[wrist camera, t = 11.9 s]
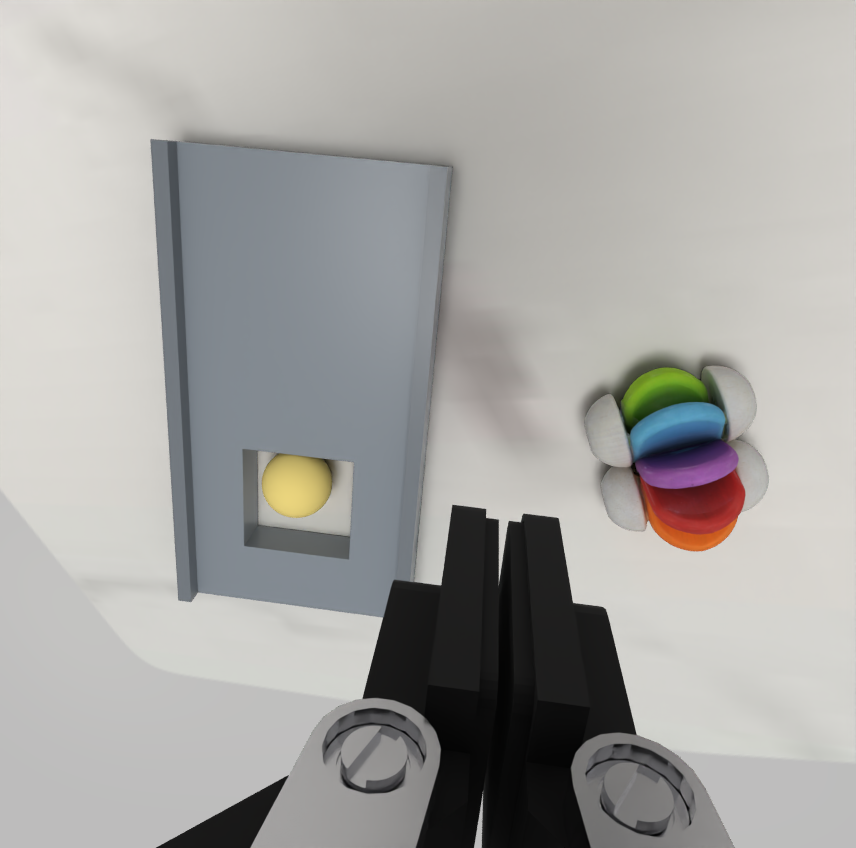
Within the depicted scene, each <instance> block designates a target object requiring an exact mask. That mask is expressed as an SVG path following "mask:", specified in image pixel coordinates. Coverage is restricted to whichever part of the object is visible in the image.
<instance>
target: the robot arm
mask: <svg viewBox="0 0 856 848" xmlns="http://www.w3.org/2000/svg"><path fill="white" fill-rule="evenodd" d="M482 794H483V821H482V823H483V824H482V848H735V847H734V845H733V843H732V841H731V839H730V837H729V835H728V833H727V831H726V829H725V827H724V825H723V823H722V821H721V819H720V817H719V815H718V813H717V811H716V809H715V807H714V805H713V803H712V801H711V799H710V797H709V795H708V793H707V791H706V789H705V787H704V785H703V784H702V783H701V781H700V779H699V778H698V777H697V775H696V774H695V772H694V770H693V769H692V768H690V767H689V766H688V765H687V764H686V763H685V762H684V761H683V760H682V759H681V758H680V757H679V756H678V755H676V754H675V753H673V752H672V751H670V750H669V749H667V748H665V747H664V746H662V745H661V744H659V743H657V742H654V741H651V740H649V739H646V738H644V737H641V736H638V735H636V730H635V726H634V722H633V718H632V714H631V710H630V706H629V701H628V697H627V693H626V689H625V685H624V681H623V676H622V672H621V668H620V664H619V660H618V656H617V651H616V647H615V643H614V639H613V635H612V631H611V626H610V622H609V618H608V615H607V612H606V609H605V608H603V607H599V606H592V605H584V604H576V603H573V601H572V595H571V589H570V583H569V577H568V571H567V565H566V559H565V553H564V547H563V541H562V535H561V529H560V523H559V519H558V518H554V517H546V516H538V515H530V514H523V516H522V520H521V522H513V521H509V523H508V528H507V534H506V541H505V548H504V555H503V561H502V568H501V575H500V581H499V520H497V519H489V518H486V509H482V508H474V507H465V506H457V505H452V512H451V519H450V527H449V534H448V541H447V548H446V556H445V563H444V570H443V577H442V585H441V586H440V585H432V584H425V583H417V582H409V581H402V580H393V582H392V586H391V589H390V593H389V597H388V601H387V605H386V609H385V613H384V617H383V621H382V624H381V628H380V632H379V636H378V640H377V644H376V648H375V652H374V656H373V660H372V663H371V667H370V671H369V675H368V679H367V683H366V687H365V691H364V695H363V699H359V700H354V701H352V702H349V703H346V704H343V705H340V706H338V707H337V708H335V709H334V710H332V711H331V712H329V713H328V714H327V715H325V716H324V717H323V718H322V720H321V721H320V722H319V723H318V725H317V726H316V727H315V728H314V730H313V731H312V733H311V735H310V737H309V739H308V741H307V743H306V744H305V746H304V748H303V750H302V752H301V754H300V756H299V757H298V759H297V761H296V763H295V765H294V767H293V769H292V771H291V772H290V774H289V775H288V776H286V777H284V778H283V779H281V780H279V781H277V782H275V783H273V784H272V785H270V786H268V787H266V788H264V789H262V790H261V791H259V792H257V793H255V794H253V795H251V796H250V797H248V798H246V799H244V800H242V801H240V802H239V803H237V804H235V805H233V806H231V807H229V808H228V809H226V810H224V811H222V812H221V813H219V814H217V815H215V816H213V817H211V818H209V819H208V820H206V821H204V822H202V823H200V824H199V825H197V826H195V827H193V828H191V829H189V830H188V831H186V832H184V833H182V834H180V835H178V836H177V837H175V838H173V839H171V840H169V841H168V842H166V843H164V844H162V845H160V846H158V847H156V848H474V844H475V837H476V831H477V825H478V819H479V813H480V807H481V800H482Z"/></svg>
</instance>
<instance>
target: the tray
mask: <svg viewBox="0 0 856 848" xmlns="http://www.w3.org/2000/svg"><path fill="white" fill-rule="evenodd" d="M151 155H152V172H153V188H154V205H155V221H156V238H157V254H158V271H159V288H160V304H161V321H162V337H163V354H164V370H165V387H166V403H167V420H168V436H169V453H170V470H171V486H172V503H173V519H174V536H175V552H176V569H177V585H178V600H180V601H187V602H192V600H193V599H194V597H195V596H196V594H197V593H198V592H199V593H206V594H214V595H221V596H229V597H236V598H243V599H251V600H258V601H265V602H273V603H280V604H288V605H295V606H302V607H310V608H317V609H325V610H332V611H339V612H347V613H354V614H362V615H369V616H376V617H384V613H385V609H386V605H387V601H388V597H389V593H390V589H391V586H392V582H393V580H402V581H409V582H414V575H415V564H416V553H417V543H418V532H419V521H420V511H421V500H422V489H423V479H424V468H425V457H426V446H427V436H428V425H429V414H430V404H431V393H432V382H433V372H434V361H435V350H436V340H437V329H438V318H439V307H440V297H441V286H442V275H443V265H444V254H445V243H446V233H447V222H448V211H449V200H450V190H451V179H452V168H453V167H449V166H438V165H427V164H417V163H406V162H395V161H385V160H374V159H363V158H353V157H342V156H331V155H321V154H310V153H299V152H289V151H278V150H267V149H257V148H246V147H235V146H225V145H214V144H203V143H193V142H182V141H168V140H154V139H151ZM257 450H258V451H266V452H274V453H282V454H290V455H299V456H307V457H315V458H323V459H332V460H340V461H348V462H354V472H353V492H352V512H351V532H350V537H345V536H338V535H330V534H322V533H314V532H306V531H299V530H291V529H283V528H275V527H267V526H260V525H258V469H257Z"/></svg>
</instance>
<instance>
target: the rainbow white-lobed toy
mask: <svg viewBox="0 0 856 848" xmlns="http://www.w3.org/2000/svg"><path fill="white" fill-rule="evenodd" d="M756 409H757V404H756V398H755V394H754V391H753V389H752V387H751V385H750V383H749V381H748V380H747V379H746V378H745V377H744V376H743V375H741V374H740V373H739V372H737V371H735V370H733V369H731V368H728V367H724V366H707V367H705V368H703V370H702V373H701V381H700V380H699V379H697V378H696V377H695V376H693V375H692V374H690V373H688V372H686V371H683V370H680V369H676V368H667V367H666V368H658V369H655V370H652V371H649V372H647V373H645V374H643V375H641V376H640V377H639V378H637V379H636V380H635V381H634V382H633V383H632V384H631V386H630V387H629V388H628V390H627V392H626V393H625V395H624V398H623V399H622V400H621V407H620V410H619V409H618V406H617V404H616V401H615V399H614V397H613V396H612V395H611V394H607V395H605V396H603V397H601V398H600V399H598V400H597V401H596V402H595V403H594V404H593V405H592V406H591V407H590V409H589V410H588V412H587V414H586V417H585V420H584V424H585V429H586V433H587V437H588V440H589V444H590V447H591V451H592V453H593V454H594V456H595V457H596V458H598V459H599V460H600V461H602V462H604V463H606V464H608V465H611V466H612V467H611V468H610V469H609V470H608V471H607V472H606V474H605V476H604V477H603V480H602V482H601V490H602V495H603V499H604V503H605V507H606V511H607V514H608V517H609V518H610V519H611V520H612V521H613V522H614V523H615V524H617V525H618V526H620V527H622V528H624V529H627V530H631V531H644V530H645V529H646V526H647V521H648V520H649V521H650V524H651V526H652V528H653V529H654V531H655V532H656V533H657V534H658V535H659V536H660V537H661V538H662V539H663V540H665V541H666V542H668V543H669V544H671V545H673V546H675V547H677V548H680V549H684V550H688V551H704V550H708V549H710V548H712V547H715V546H716V545H718V544H720V543H721V542H722V541H723V540H725V539H726V538H727V537H728V535H729V534H730V533H731V532H732V530H733V528H734V526H735V524H736V522H737V518H738V515H739V514H740V513H741V512H743V511H746V510H748V509H750V508H752V507H753V506H755V505H756V504H757V503H758V502H759V501H760V500H761V499H762V498H763V496H764V495H765V493H766V491H767V488H768V483H769V476H768V471H767V467H766V464H765V461H764V459H763V457H762V456H761V454H760V453H759V452H758V451H757V450H756V449H755V448H754V447H752V446H751V445H749V444H747V443H745V442H743V441H740V440H736V438H737V437H739V436H740V435H742V434H743V433H744V432H745V431H746V430H747V429H748V428H749V427H750V425H751V424H752V422H753V420H754V417H755V415H756ZM721 438H722V439H721ZM634 462H635V465H636V471H635V472H633V470H632V468H631V464H632V463H634Z"/></svg>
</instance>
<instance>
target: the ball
mask: <svg viewBox="0 0 856 848" xmlns="http://www.w3.org/2000/svg"><path fill="white" fill-rule="evenodd" d="M331 489H332V477H331V472H330V470H329V467H328V466H327V464H326V463H325V461H324V460H323V459H322V458H315V457H307V456H299V455H290V454H282V453H279V454H278V455H276V456H275V457H274V458H273V459H272V460H271V461H270V462H269V463H268V465H267V466H266V468H265V470H264V473H263V477H262V490H263V494H264V497H265V499H266V501H267V502H268V504H269V505H270V506H271V507H272V508H273V509H274V510H275V511H276V512H278V513H280V514H282V515H284V516H287V517H292V518H300V517H306V516H309V515H311V514H313V513H315V512H317V511H318V510H319V509H320V508H321V507H323V505H324V504H325V503H326V501H327V500H328V498H329V496H330V493H331Z"/></svg>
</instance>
